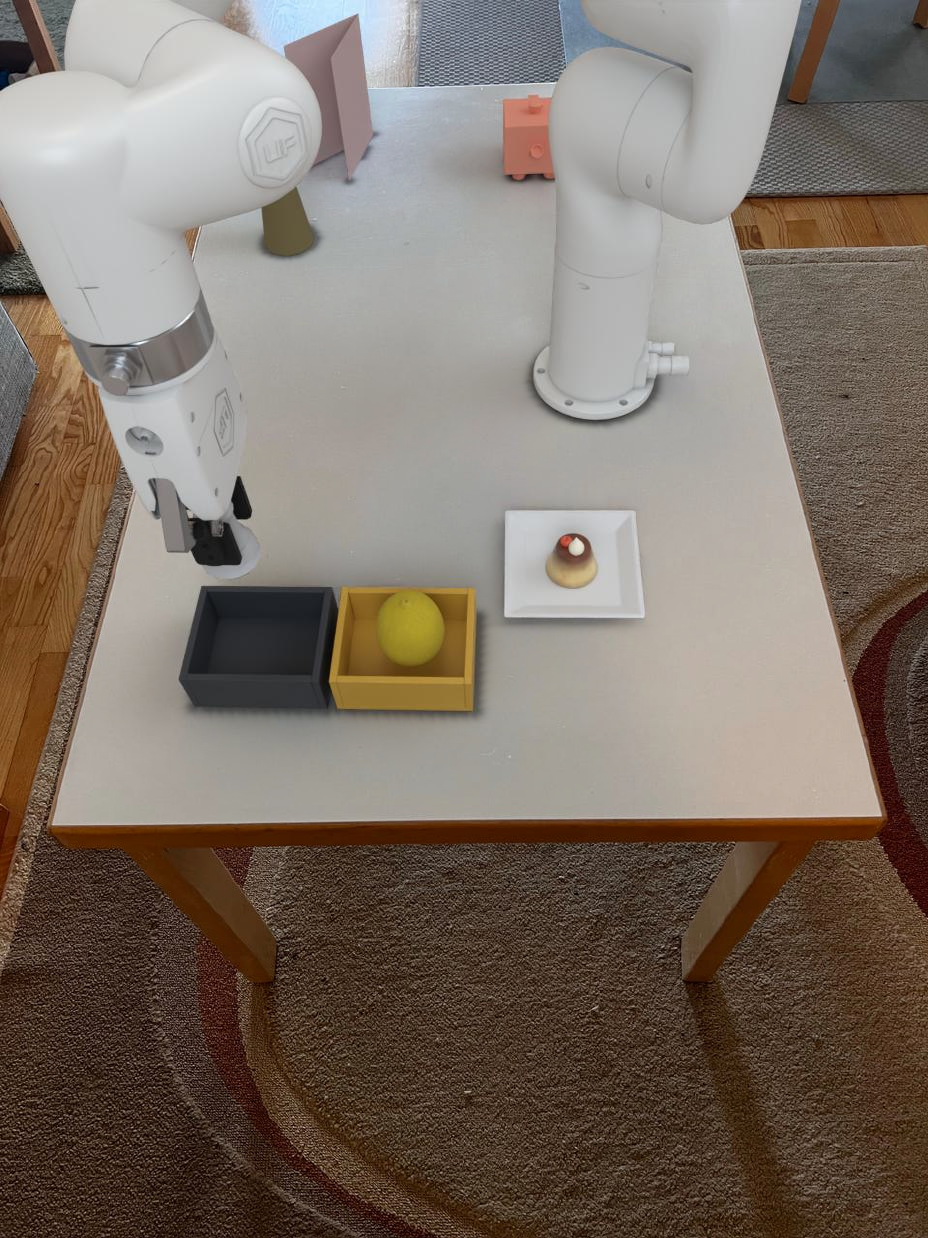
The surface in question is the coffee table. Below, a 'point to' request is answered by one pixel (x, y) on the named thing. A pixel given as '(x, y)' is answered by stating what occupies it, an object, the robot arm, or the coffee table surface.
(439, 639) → the lemon
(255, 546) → the rook chess piece
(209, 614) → the charcoal bin
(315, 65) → the greeting card
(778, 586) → the coffee table surface
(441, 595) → the ochre bin
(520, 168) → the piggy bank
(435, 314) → the coffee table surface
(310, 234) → the pawn chess piece
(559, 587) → the dessert
